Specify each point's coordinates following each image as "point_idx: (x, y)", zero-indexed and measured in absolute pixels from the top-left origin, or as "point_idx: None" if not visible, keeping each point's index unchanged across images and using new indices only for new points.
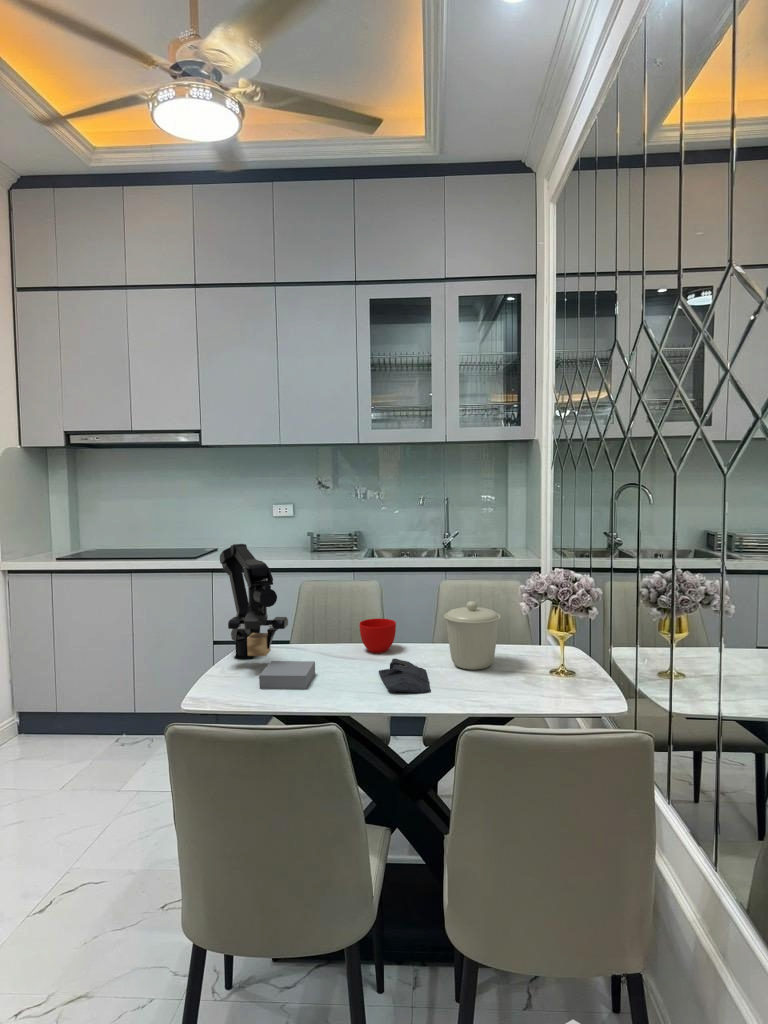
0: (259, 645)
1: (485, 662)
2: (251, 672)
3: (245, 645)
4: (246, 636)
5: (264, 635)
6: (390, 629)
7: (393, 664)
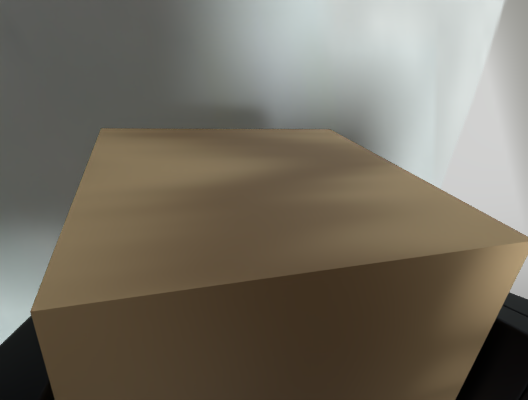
0: (210, 179)
1: None
2: (229, 5)
3: None
4: (518, 317)
5: None
6: None
7: None
